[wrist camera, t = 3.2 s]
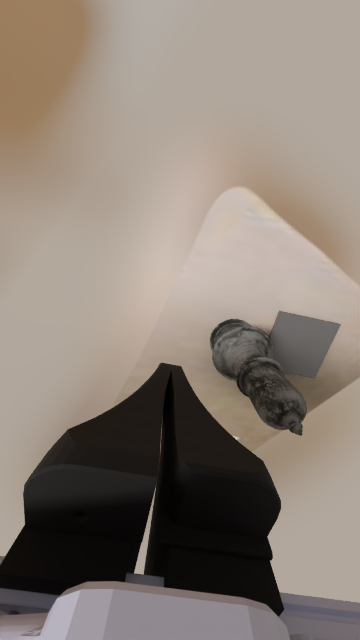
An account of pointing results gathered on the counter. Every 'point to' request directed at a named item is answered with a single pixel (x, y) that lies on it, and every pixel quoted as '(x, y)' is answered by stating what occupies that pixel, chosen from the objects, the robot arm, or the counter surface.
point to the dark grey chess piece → (257, 374)
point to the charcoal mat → (301, 343)
